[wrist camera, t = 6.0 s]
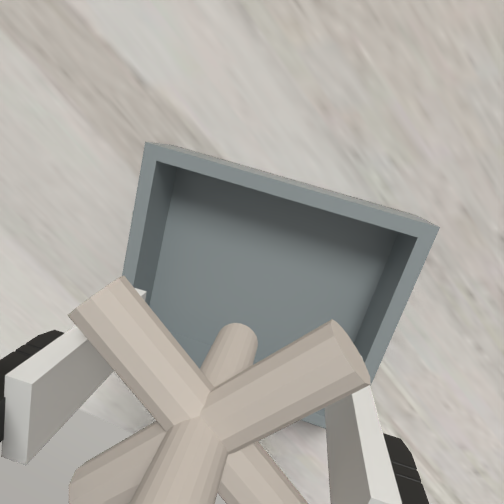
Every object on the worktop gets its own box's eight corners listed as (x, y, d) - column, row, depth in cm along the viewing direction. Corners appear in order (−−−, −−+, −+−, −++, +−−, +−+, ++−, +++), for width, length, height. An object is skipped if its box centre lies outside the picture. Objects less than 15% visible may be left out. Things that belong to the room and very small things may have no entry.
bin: (138, 325, 33) (108, 352, 28) (173, 145, 28) (145, 141, 24) (342, 394, 31) (348, 436, 27) (416, 215, 27) (439, 227, 22)
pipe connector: (403, 377, 14) (590, 808, 5) (219, 468, 17) (106, 856, 8) (260, 178, 13) (134, 229, 4) (87, 310, 16) (-241, 534, 6)
